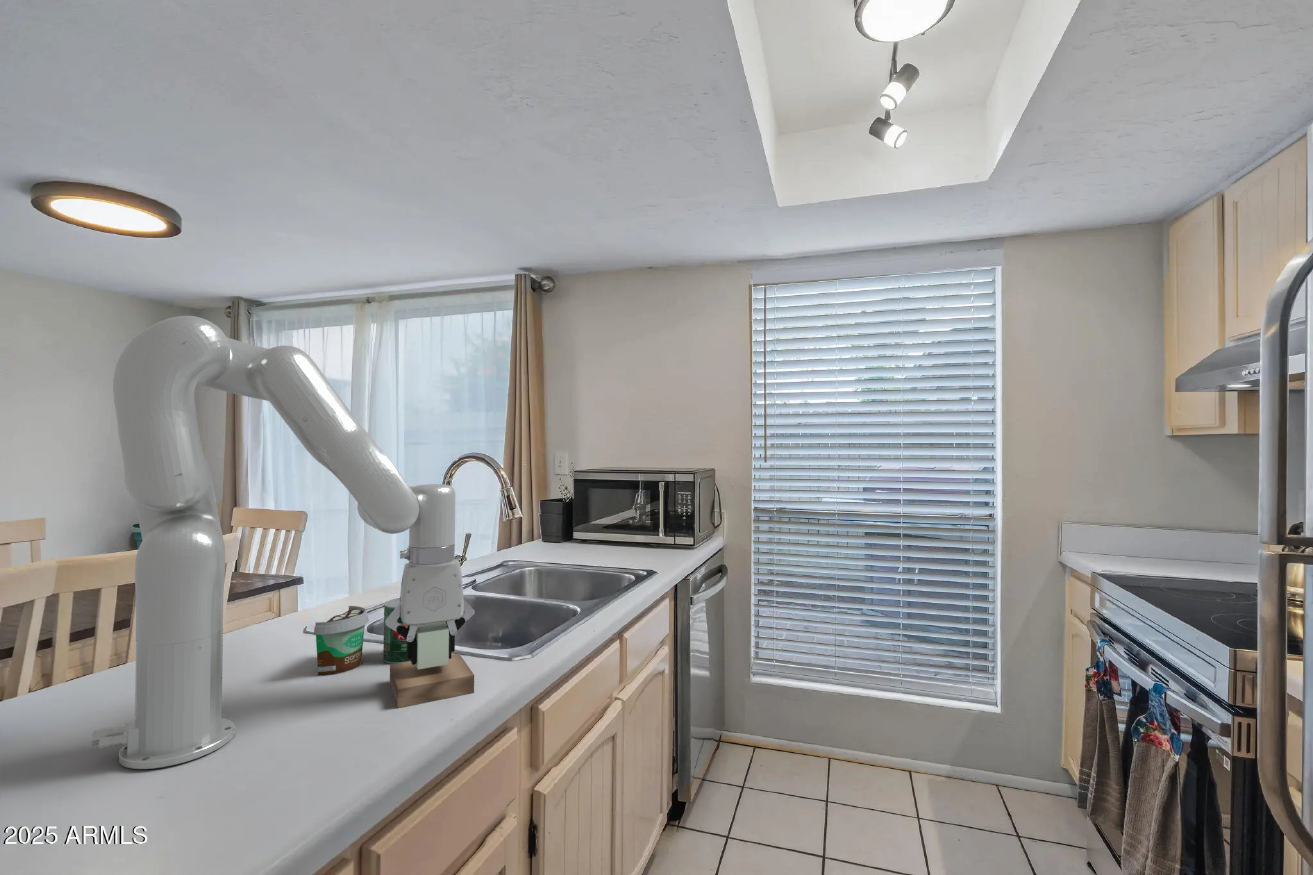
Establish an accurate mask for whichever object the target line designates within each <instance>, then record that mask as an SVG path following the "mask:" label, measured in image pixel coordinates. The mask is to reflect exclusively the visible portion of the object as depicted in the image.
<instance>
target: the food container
mask: <svg viewBox="0 0 1313 875" xmlns="http://www.w3.org/2000/svg"><path fill="white" fill-rule="evenodd" d="M369 620H370V619H369V616H368V612H367V610H366V608H364V607H363V606H358V605H348V610H347V611H345V612H343V613H341V614H337V615H334V616H332V617H330V619H328V620H327V621H323V622H319V621H317V622H315V626H314V629H313V635H315V643H316V662H317V663H316V664H317V666H316V667H317V677H321V676H324V677H325V676H333V675H337V674H338V675H339V674H344V673H347V672H350V671H353V670H354V669H356V668H359V666H361V664H362V658H363V648H364V646H363V645H364V637H365V626H366V625H367V624H368V623H369Z"/></svg>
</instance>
